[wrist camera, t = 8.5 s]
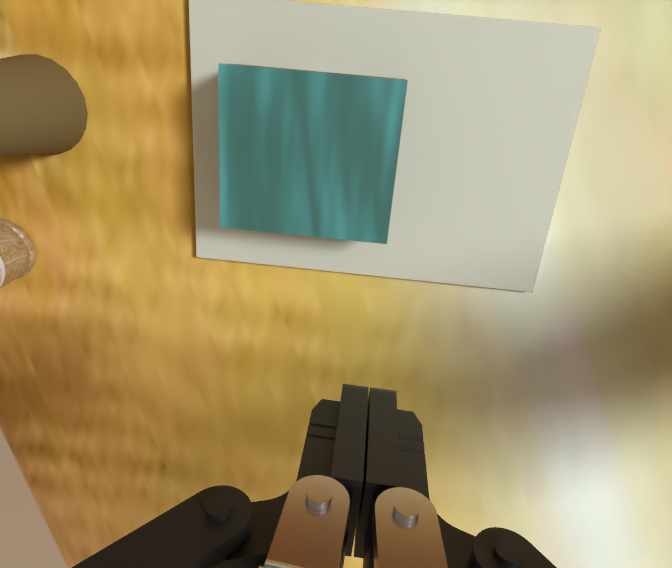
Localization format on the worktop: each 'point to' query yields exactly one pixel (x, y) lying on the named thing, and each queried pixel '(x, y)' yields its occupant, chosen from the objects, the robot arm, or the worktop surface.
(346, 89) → the teal and brown block
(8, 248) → the sprinkles bottle
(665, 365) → the worktop surface
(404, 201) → the sage mat
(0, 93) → the brown rounded upright piece
